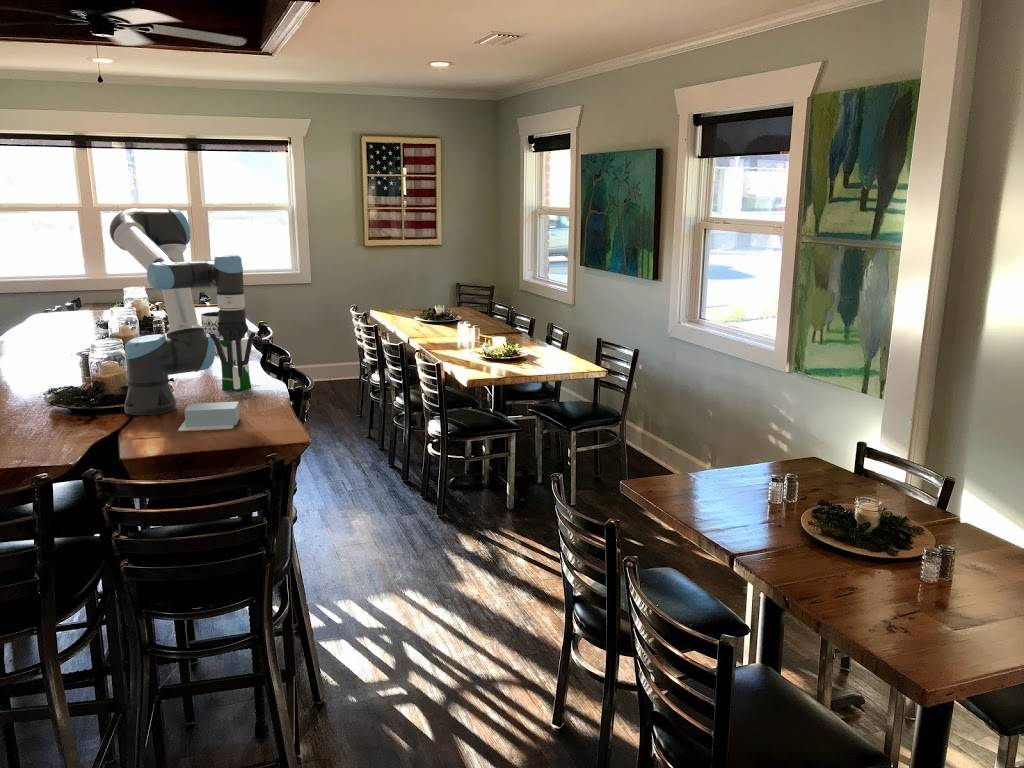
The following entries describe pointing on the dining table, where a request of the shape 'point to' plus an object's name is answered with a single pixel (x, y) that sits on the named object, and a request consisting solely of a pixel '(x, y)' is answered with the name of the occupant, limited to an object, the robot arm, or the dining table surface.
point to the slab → (212, 414)
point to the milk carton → (226, 380)
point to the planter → (211, 324)
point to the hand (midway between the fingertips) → (237, 388)
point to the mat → (184, 428)
